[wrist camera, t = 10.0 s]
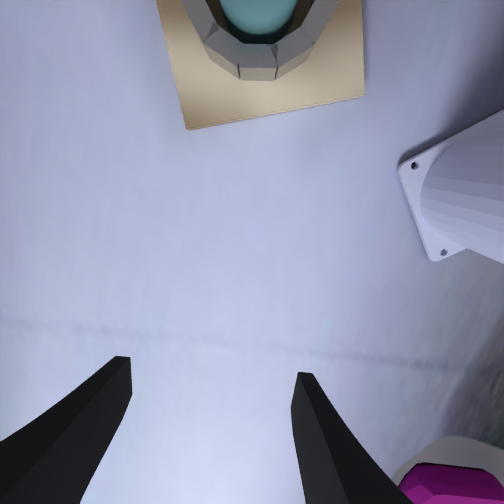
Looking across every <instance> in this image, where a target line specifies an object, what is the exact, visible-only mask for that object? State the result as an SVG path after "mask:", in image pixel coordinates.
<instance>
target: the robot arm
mask: <svg viewBox="0 0 504 504" xmlns="http://www.w3.org/2000/svg"><path fill="white" fill-rule="evenodd" d="M413 162H415V163H416V166H415V168H414V169H412V168H411V164H412V163H413ZM397 171H398V175H399V178H400V180H401V183H402V186H403V189H404V192H405V194H406V197H407V200H408V203H409V206H410V208H411V211H412V214H413V217H414V220H415V223H416V225H417V228H418V231H419V234H420V237H421V239H422V242H423V245H424V248H425V251H426V253H427V256H428V258H429V259H430V260H432V261H434V262H437V261H440V260H442V259H444V258H446V257H449V256H451V255H453V254H455V253H457V252H460V251H462V250H464V249H466V248H468V249H471V250H473V251H475V252H478V253H480V254H482V255H484V256H487V257H489V258H491V259H494V260H496V261H498V262H501V263H503V264H504V109H503V110H501V111H499V112H497V113H495V114H494V115H492V116H490V117H488V118H486V119H484V120H482V121H480V122H478V123H476V124H475V125H473V126H471V127H469V128H467V129H465V130H463V131H461V132H459V133H457V134H456V135H454V136H452V137H450V138H448V139H446V140H444V141H442V142H440V143H438V144H436V145H435V146H433V147H431V148H429V149H427V150H425V151H423V152H421V153H419V154H417V155H416V156H414V157H412V158H410V159H408V160H406V161H404V162H402V163H401V164H400V165H399V167H398V170H397ZM442 250H444V252H443V253H442V254H440V252H441V251H442ZM131 396H132V379H131V361H130V357H123V356H115V357H114V358H113V359H111V360H110V361H109V362H108V363H106V364H105V365H104V366H103V367H102V368H100V369H99V370H98V371H97V372H96V373H94V374H93V375H92V376H91V377H89V378H88V379H87V380H86V381H85V382H83V383H82V384H81V385H80V386H78V387H77V388H76V389H75V390H73V391H72V392H71V393H70V394H68V395H67V396H66V397H64V398H63V399H62V400H60V401H59V402H58V403H56V404H55V405H54V406H52V407H51V408H50V409H48V410H47V411H46V412H44V413H43V414H41V415H40V416H39V417H37V418H36V419H34V420H33V421H32V422H30V423H29V424H27V425H26V426H24V427H23V428H21V429H20V430H18V431H16V432H15V433H13V434H12V435H10V436H9V437H7V438H6V439H4V440H2V441H1V442H0V504H80V502H81V499H82V497H83V495H84V493H85V491H86V489H87V487H88V484H89V482H90V480H91V478H92V477H93V475H94V473H95V471H96V469H97V467H98V465H99V463H100V461H101V459H102V458H103V456H104V454H105V452H106V450H107V448H108V446H109V444H110V442H111V441H112V439H113V437H114V435H115V433H116V431H117V429H118V427H119V425H120V423H121V421H122V419H123V417H124V414H125V412H126V409H127V407H128V404H129V401H130V399H131ZM291 417H292V429H293V437H294V442H295V448H296V453H297V458H298V464H299V469H300V474H301V479H302V485H303V490H304V495H305V501H306V504H414V503H413V502H412V501H411V500H410V499H409V498H408V497H407V496H406V495H405V494H404V493H403V492H402V491H401V490H400V489H399V488H398V487H397V486H396V485H395V484H394V482H393V481H392V480H391V479H390V478H389V477H388V476H387V475H386V474H385V473H384V472H383V470H382V469H381V468H380V467H379V466H378V465H377V464H376V462H375V461H374V460H373V459H372V458H371V457H370V455H369V454H368V453H367V452H366V450H365V449H364V448H363V447H362V445H361V444H360V443H359V442H358V440H357V439H356V438H355V436H354V435H353V434H352V432H351V431H350V430H349V428H348V427H347V426H346V424H345V423H344V421H343V420H342V418H341V417H340V416H339V414H338V413H337V411H336V410H335V408H334V407H333V405H332V404H331V402H330V401H329V399H328V398H327V396H326V394H325V393H324V391H323V390H322V388H321V386H320V385H319V383H318V381H317V380H316V378H315V376H314V375H313V374H312V373H305V372H298V375H297V380H296V384H295V389H294V394H293V399H292V404H291Z"/></svg>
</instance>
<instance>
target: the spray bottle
mask: <svg viewBox="0 0 504 504" xmlns="http://www.w3.org/2000/svg"><path fill="white" fill-rule="evenodd" d="M398 488H399V489H400V490H401V491H402V492H403V493H404V494H405V495H406V496H407V497H408V498H409V499H410V500H411V501H412V502H413V503H414V504H504V487H503V486H502V485H501V483H500V482H499V481H498V480H497V479H496V477H495V476H494V475H492V474H491V473H489V472H487V471H485V470H484V469H480V468H472V467H463V466H454V465H446V464H437V463H428V462H422V463H417V464H415V465H414V466H413V467H412V468H411V469H410V470H409V471H408V472H407V473H406V474H405V475H404V477H403V479H402V480H401V482H400V484H399V485H398Z"/></svg>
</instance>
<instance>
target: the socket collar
mask: <svg viewBox="0 0 504 504" xmlns="http://www.w3.org/2000/svg"><path fill="white" fill-rule="evenodd" d="M181 2H182V4H183V6H184V8H185V10H186V12H187V15H188V17H189V19H190V21H191V23H192V25H193V27H194V29H195V31H196V33H197V35H198V37H199V39H200V41H201V43H202V45H203V47H204V49H205V51H206V52H207V54H208V56H209V58H210V59H211V61H213V62H214V63H216V64H217V65H219V66H220V67H222V68H223V69H224V70H226V71H227V72H229V73H230V74H232V75H233V76H235V77H236V78H237V79H239V80H240V78H241V80H246V81H274V79H275V80H277V79H278V78H280V77H282V76H283V75H285V74H286V73H288V72H290V71H291V70H293V69H294V68H296V67H298V66H299V65H301V64H302V63H304V62H305V61H306V59H307V58H308V56H309V54H310V52H311V51H312V49H313V47H314V45H315V44H316V42H317V40H318V38H319V37H320V35H321V33H322V31H323V30H324V28H325V26H326V24H327V22H328V21H329V19H330V17H331V15H332V14H333V12H334V10H335V8H336V7H337V5H338V3H339V0H310V4H309V12H308V14H307V16H306V18H305V20H304V22H303V23H302V25H301V27H299V28H298V29H296V30H295V31H293V32H292V33H290V34H289V35H287V36H286V37H284V38H283V39H281V40H280V41H278V42H277V43H275V44H243V43H242V42H240V41H239V40H238V39H236V38H235V37H233V36H232V35H231V34H229V33H228V32H226V31H225V30H224V29H222V28H221V27H220V26H218V25H217V23H216V21H215V19H214V17H213V15H212V13H211V11H210V9H209V4H208V0H181Z"/></svg>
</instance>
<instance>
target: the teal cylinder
mask: <svg viewBox="0 0 504 504" xmlns="http://www.w3.org/2000/svg"><path fill="white" fill-rule="evenodd" d="M297 3H298V0H220V4H221V8H222V12H223V16H224V20H225V23H226V25H227V27H228V29H229V31H230V33H231V34H232V36H233V37H235V38H236V39H238V40H239V41H240V42H242V43H243V44H275V43H277V42H278V41H280V40H281V39H282V38H283V37H284V36H285V35H286V33H287V32H288V30H289V28H290V27H291V24H292V22H293V19H294V15H295V11H296V7H297Z"/></svg>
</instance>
